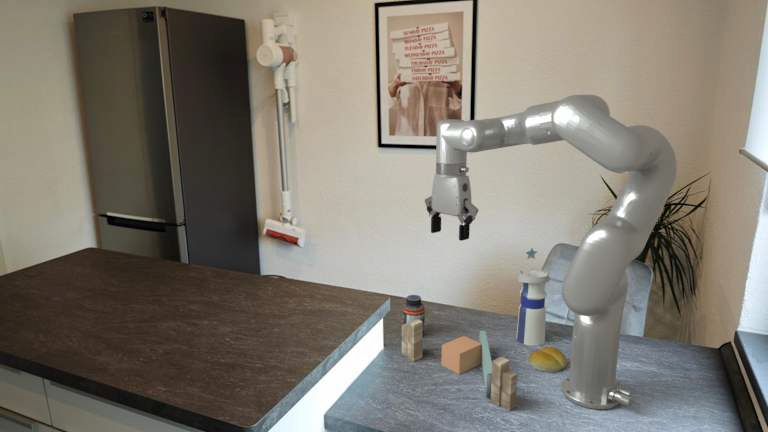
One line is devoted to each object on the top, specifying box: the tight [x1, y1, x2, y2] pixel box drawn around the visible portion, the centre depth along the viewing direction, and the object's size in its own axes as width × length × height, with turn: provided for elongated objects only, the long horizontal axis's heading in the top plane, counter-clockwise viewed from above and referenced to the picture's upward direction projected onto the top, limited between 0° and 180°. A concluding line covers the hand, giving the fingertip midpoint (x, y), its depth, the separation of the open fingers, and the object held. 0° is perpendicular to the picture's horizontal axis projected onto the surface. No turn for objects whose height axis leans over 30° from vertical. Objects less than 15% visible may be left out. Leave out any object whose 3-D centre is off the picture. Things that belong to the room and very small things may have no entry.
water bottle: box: [515, 248, 551, 347], centre depth 144 cm, size 8×9×25 cm
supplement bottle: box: [402, 294, 425, 337], centre depth 149 cm, size 6×6×11 cm
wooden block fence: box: [401, 319, 518, 412], centre depth 126 cm, size 34×3×10 cm, turn 41°
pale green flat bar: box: [478, 330, 493, 399], centre depth 129 cm, size 23×2×5 cm, turn 175°
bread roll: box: [528, 346, 568, 373], centre depth 133 cm, size 8×9×4 cm
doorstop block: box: [441, 335, 482, 375], centre depth 133 cm, size 6×8×6 cm
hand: (449, 235), depth 138 cm, fingers open, 9 cm apart
